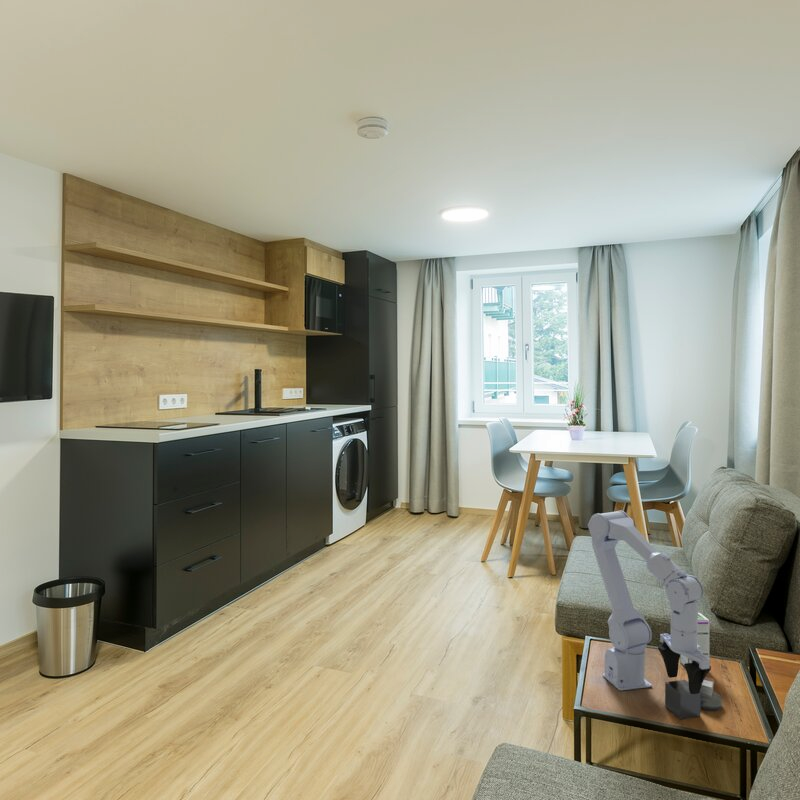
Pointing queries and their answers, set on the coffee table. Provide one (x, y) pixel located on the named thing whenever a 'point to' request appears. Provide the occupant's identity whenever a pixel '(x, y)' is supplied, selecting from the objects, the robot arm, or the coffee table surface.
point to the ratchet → (710, 696)
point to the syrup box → (700, 638)
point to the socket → (682, 699)
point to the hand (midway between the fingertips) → (683, 684)
